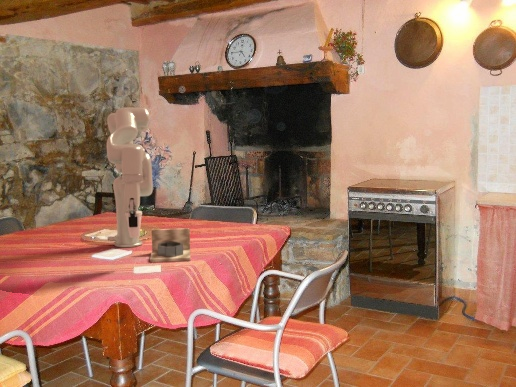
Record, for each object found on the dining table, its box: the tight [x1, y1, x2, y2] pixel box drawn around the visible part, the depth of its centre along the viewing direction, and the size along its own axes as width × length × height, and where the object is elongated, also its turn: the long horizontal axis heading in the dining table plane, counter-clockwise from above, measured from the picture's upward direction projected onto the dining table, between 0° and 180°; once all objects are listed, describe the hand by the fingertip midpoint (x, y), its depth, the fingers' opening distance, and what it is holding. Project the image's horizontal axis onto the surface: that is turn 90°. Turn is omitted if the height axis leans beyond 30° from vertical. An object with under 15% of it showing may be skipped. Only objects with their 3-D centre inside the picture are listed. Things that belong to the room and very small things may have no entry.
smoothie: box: [125, 209, 143, 238], centre depth 199 cm, size 6×6×14 cm
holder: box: [149, 227, 191, 263], centre depth 216 cm, size 16×16×10 cm
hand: (134, 224), depth 200 cm, fingers closed on smoothie, 6 cm apart
